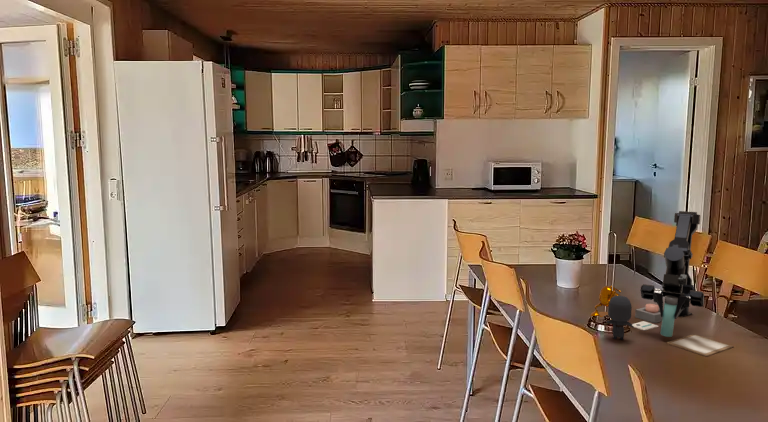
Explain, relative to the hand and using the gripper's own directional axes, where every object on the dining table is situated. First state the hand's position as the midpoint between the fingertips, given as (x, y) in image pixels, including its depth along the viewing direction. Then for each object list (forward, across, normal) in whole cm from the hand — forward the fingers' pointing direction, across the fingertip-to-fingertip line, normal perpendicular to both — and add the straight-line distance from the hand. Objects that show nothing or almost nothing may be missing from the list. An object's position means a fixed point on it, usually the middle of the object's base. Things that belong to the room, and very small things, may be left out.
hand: (668, 317), depth 186 cm
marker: (+3, 0, +6) cm, 7 cm away
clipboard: (+4, +9, +8) cm, 13 cm away
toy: (+10, -14, +2) cm, 17 cm away
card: (-3, -9, +15) cm, 18 cm away
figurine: (-5, -23, +18) cm, 29 cm away
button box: (-10, -8, +22) cm, 26 cm away
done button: (-12, -8, +21) cm, 26 cm away
